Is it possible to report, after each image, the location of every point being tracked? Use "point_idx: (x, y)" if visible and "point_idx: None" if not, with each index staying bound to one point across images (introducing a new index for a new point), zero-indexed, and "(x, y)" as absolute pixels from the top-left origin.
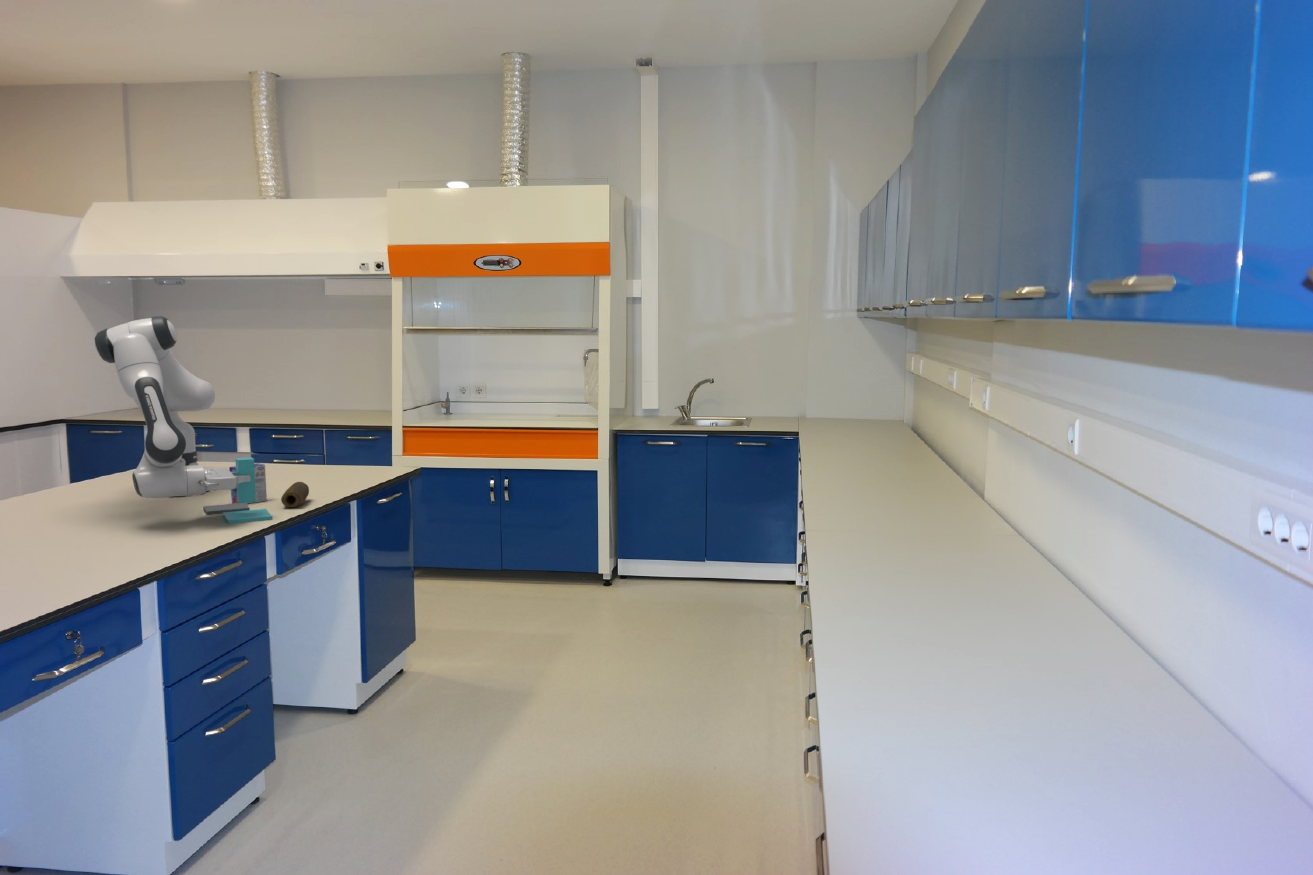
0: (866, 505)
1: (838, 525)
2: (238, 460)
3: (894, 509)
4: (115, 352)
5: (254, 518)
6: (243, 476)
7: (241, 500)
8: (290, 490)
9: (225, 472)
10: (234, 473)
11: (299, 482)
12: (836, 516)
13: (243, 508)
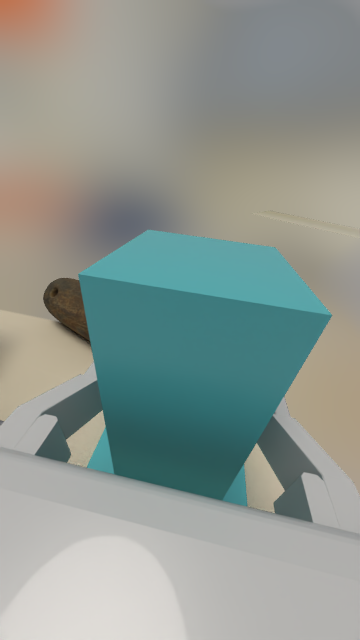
0: (311, 224)
1: (357, 236)
2: (323, 312)
3: (322, 225)
4: None
5: (245, 492)
6: (297, 423)
7: None
8: None
9: (181, 623)
10: (50, 416)
11: (75, 281)
12: (335, 231)
13: None
